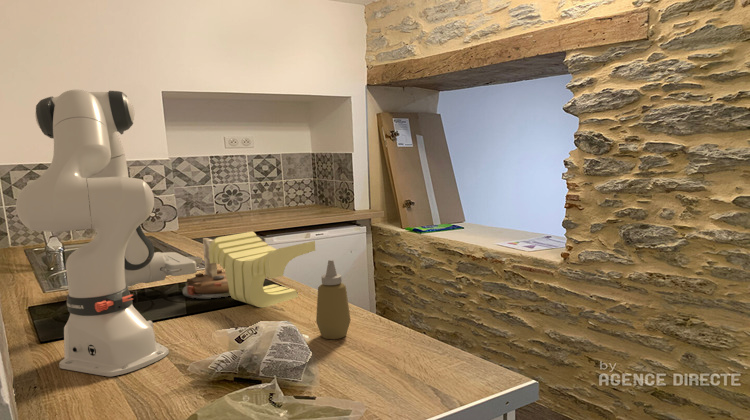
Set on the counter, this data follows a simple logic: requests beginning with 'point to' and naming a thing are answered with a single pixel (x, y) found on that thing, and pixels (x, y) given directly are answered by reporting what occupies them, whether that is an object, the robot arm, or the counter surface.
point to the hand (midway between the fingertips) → (200, 259)
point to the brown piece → (209, 276)
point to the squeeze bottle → (332, 305)
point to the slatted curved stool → (255, 267)
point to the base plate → (189, 292)
